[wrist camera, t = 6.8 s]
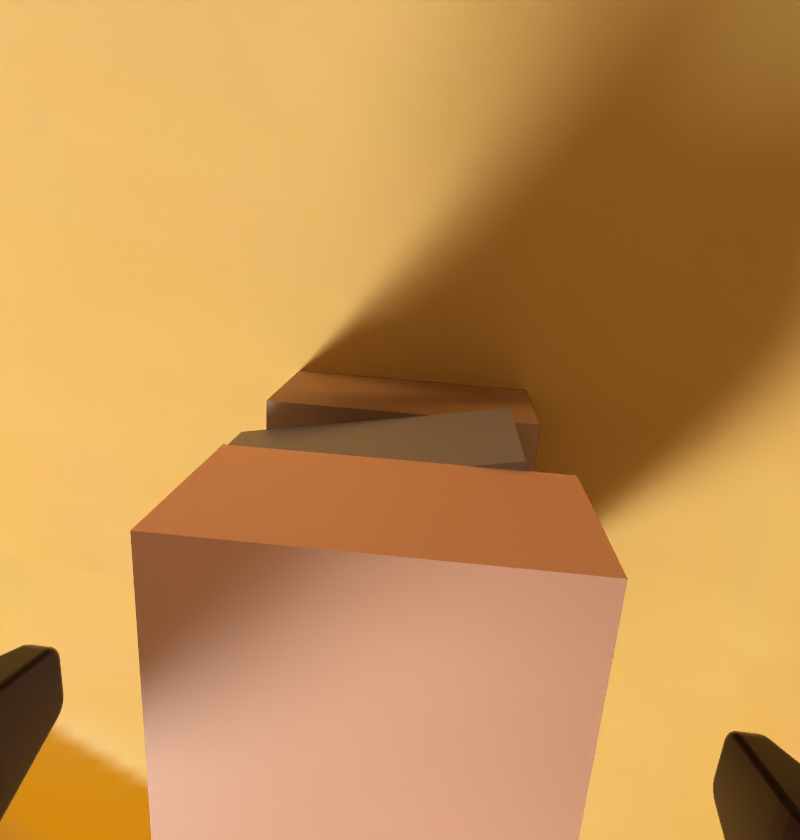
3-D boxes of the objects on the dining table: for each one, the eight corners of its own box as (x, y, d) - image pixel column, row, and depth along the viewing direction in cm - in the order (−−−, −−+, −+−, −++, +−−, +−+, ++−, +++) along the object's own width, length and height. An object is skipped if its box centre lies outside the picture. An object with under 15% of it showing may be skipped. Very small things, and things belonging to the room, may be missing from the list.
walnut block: (524, 388, 15) (540, 425, 13) (499, 587, 17) (507, 659, 14) (301, 369, 16) (266, 400, 13) (296, 566, 17) (264, 632, 15)
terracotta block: (577, 475, 10) (627, 578, 7) (532, 763, 11) (558, 944, 8) (222, 444, 10) (130, 531, 7) (229, 729, 12) (155, 891, 9)
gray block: (510, 407, 13) (525, 461, 10) (527, 647, 14) (545, 754, 11) (241, 432, 13) (181, 489, 10) (285, 658, 15) (244, 762, 12)
